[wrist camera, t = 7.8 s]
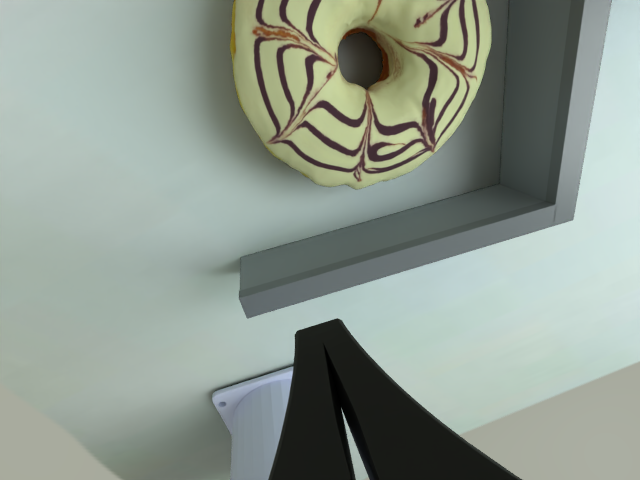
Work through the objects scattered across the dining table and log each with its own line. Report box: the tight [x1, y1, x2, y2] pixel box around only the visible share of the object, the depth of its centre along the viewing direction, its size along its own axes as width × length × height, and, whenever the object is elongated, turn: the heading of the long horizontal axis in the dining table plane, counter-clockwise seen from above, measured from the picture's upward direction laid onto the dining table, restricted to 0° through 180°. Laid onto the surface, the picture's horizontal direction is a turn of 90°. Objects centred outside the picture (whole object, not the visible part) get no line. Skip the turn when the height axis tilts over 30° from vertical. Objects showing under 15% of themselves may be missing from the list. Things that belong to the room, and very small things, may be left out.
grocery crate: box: [239, 0, 612, 318], centre depth 13 cm, size 18×17×4 cm
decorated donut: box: [230, 0, 491, 190], centre depth 14 cm, size 10×11×4 cm
